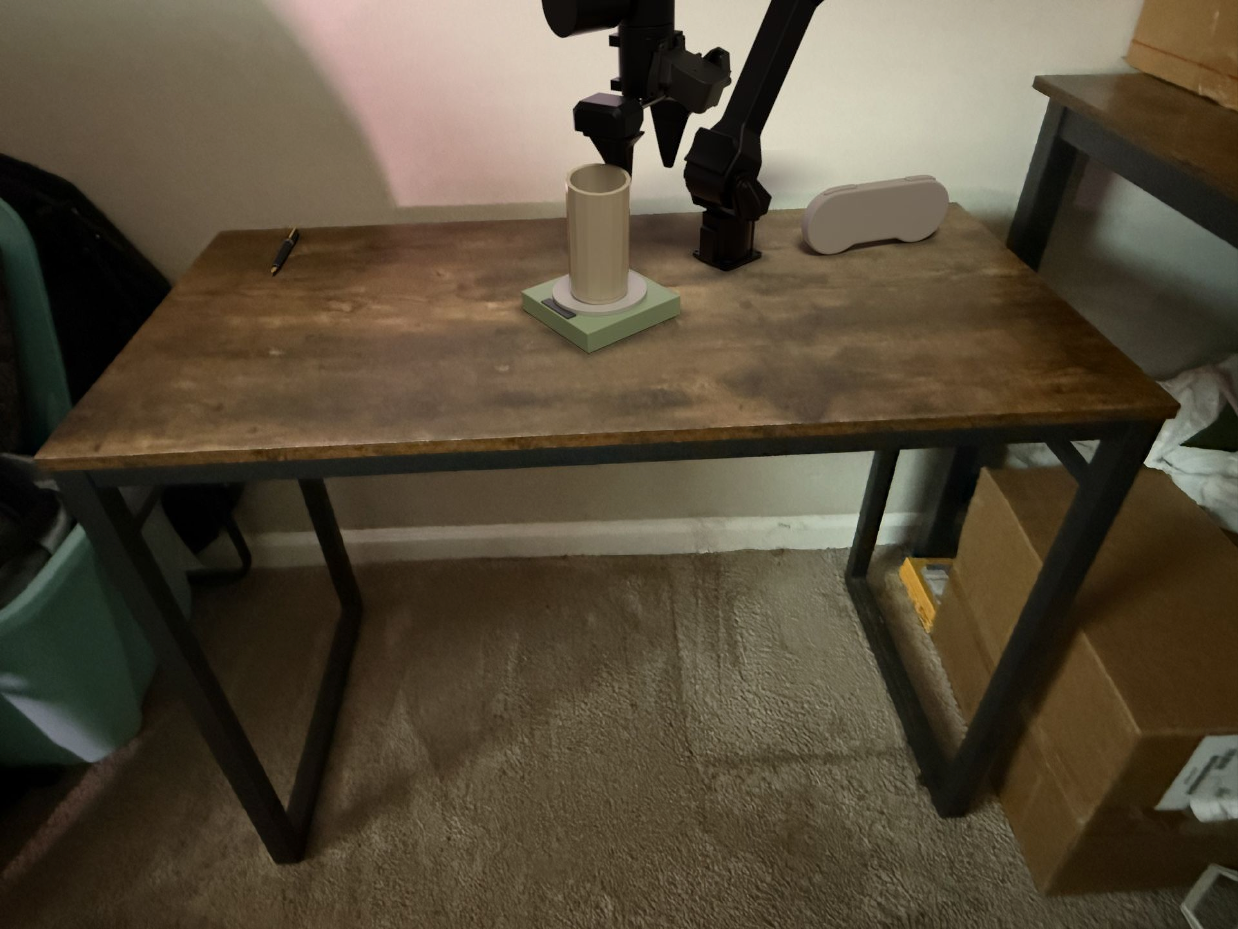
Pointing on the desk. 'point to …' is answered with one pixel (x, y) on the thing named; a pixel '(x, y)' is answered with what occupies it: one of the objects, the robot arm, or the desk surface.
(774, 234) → the desk surface
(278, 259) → the fountain pen
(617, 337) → the scale
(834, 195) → the game controller
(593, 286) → the cup
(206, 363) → the desk surface
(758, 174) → the robot arm
